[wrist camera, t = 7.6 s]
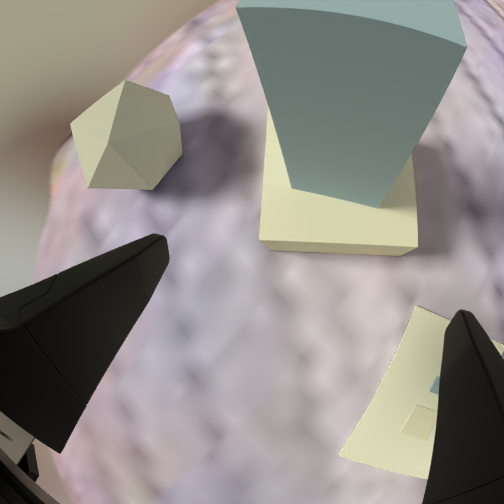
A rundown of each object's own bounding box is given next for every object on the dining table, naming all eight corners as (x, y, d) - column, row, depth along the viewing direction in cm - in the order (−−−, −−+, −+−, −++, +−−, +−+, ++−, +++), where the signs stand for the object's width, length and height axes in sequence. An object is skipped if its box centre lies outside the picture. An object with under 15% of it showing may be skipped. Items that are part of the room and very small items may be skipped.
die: (185, 102, 25) (88, 71, 19) (226, 116, 19) (92, 69, 13) (153, 181, 28) (58, 161, 22) (181, 221, 22) (52, 197, 16)
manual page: (431, 479, 16) (432, 480, 15) (338, 454, 18) (338, 456, 18) (504, 345, 16) (506, 345, 16) (415, 305, 18) (416, 305, 18)
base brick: (399, 256, 19) (418, 247, 15) (270, 250, 21) (259, 239, 17) (393, 137, 20) (404, 109, 16) (276, 133, 22) (268, 104, 18)
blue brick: (377, 208, 16) (467, 47, 4) (291, 188, 17) (235, 7, 5) (385, 146, 16) (442, -30, 4) (305, 129, 17) (275, -56, 5)
